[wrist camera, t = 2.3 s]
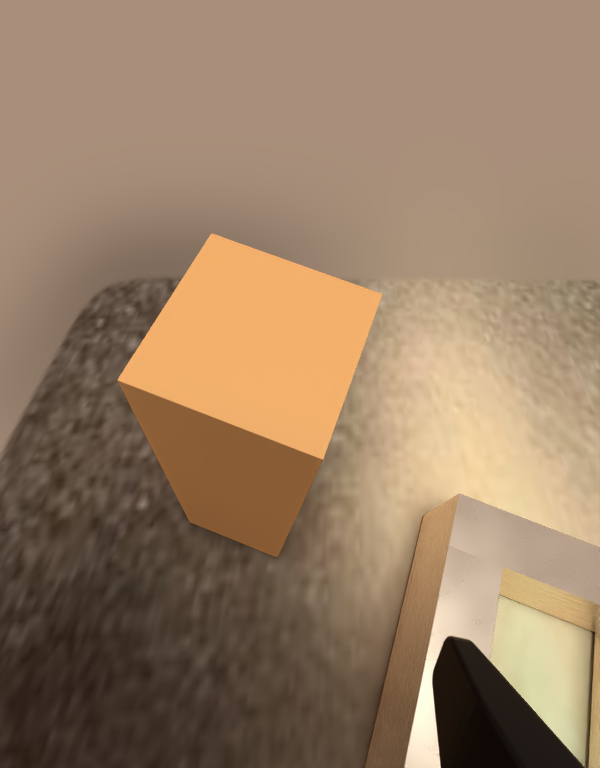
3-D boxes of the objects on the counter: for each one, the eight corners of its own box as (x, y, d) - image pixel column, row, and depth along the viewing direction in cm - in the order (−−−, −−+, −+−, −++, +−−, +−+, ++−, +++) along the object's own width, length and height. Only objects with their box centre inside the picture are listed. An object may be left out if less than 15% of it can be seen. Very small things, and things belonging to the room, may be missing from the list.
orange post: (277, 557, 20) (322, 459, 8) (189, 522, 20) (117, 380, 9) (308, 471, 22) (382, 294, 10) (228, 440, 22) (211, 233, 10)
